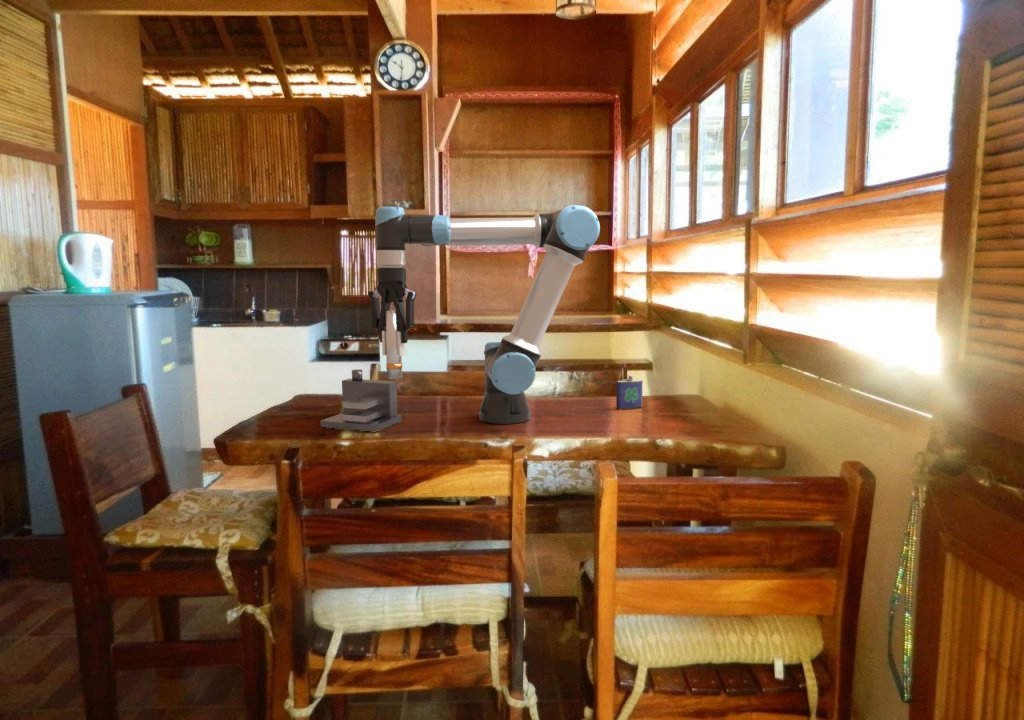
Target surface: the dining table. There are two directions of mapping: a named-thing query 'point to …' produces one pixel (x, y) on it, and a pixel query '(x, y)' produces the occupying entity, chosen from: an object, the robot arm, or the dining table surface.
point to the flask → (629, 394)
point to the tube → (392, 346)
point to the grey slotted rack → (366, 405)
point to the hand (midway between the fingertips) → (393, 354)
